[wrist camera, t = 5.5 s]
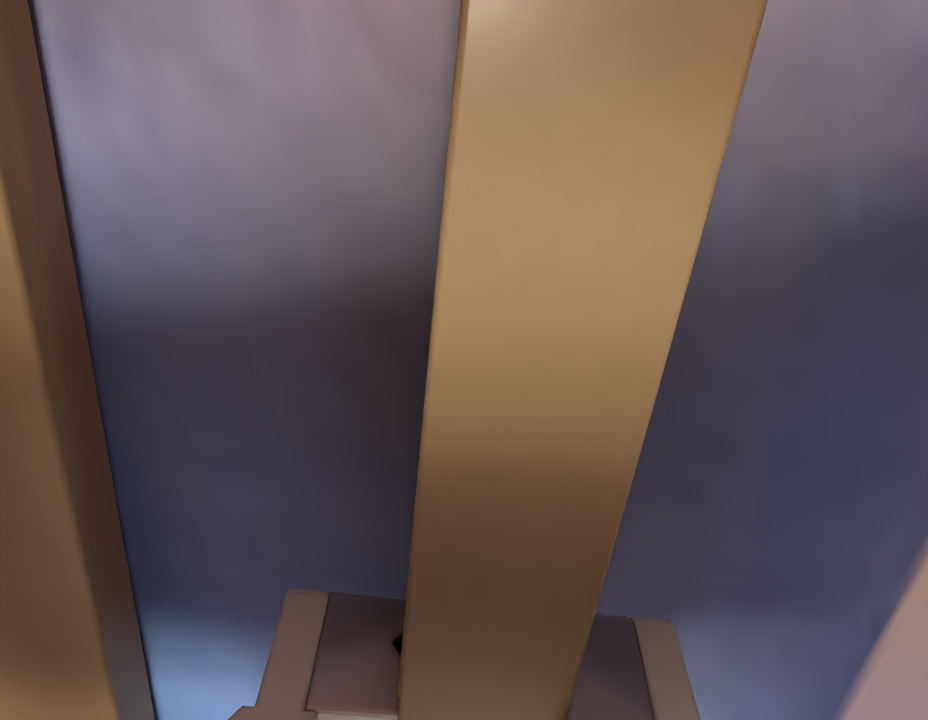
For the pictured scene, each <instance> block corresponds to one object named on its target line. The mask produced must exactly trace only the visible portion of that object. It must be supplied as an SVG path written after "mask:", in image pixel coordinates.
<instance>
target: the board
mask: <svg viewBox="0 0 928 720" xmlns="http://www.w3.org/2000/svg"><path fill="white" fill-rule="evenodd" d="M0 720H155V717H154V711H153V705H152V700H151V694H150V688H149V683H148V677H147V672H146V666H145V660H144V655H143V649H142V643H141V638H140V632H139V626H138V621H137V615H136V609H135V604H134V598H133V593H132V587H131V581H130V576H129V570H128V564H127V559H126V553H125V547H124V542H123V536H122V530H121V525H120V519H119V514H118V508H117V502H116V497H115V491H114V485H113V480H112V474H111V468H110V463H109V457H108V451H107V446H106V440H105V435H104V429H103V423H102V418H101V412H100V406H99V401H98V395H97V389H96V384H95V378H94V372H93V367H92V361H91V356H90V350H89V344H88V339H87V333H86V327H85V322H84V316H83V310H82V305H81V299H80V293H79V288H78V282H77V277H76V271H75V265H74V260H73V254H72V248H71V243H70V237H69V231H68V226H67V220H66V214H65V209H64V203H63V198H62V192H61V186H60V181H59V175H58V169H57V164H56V158H55V152H54V147H53V141H52V135H51V130H50V124H49V119H48V113H47V107H46V102H45V96H44V90H43V85H42V79H41V73H40V68H39V62H38V56H37V51H36V45H35V40H34V34H33V28H32V23H31V17H30V11H29V6H28V0H0Z"/></svg>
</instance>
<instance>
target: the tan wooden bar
mask: <svg viewBox="0 0 928 720" xmlns="http://www.w3.org/2000/svg"><path fill="white" fill-rule="evenodd" d="M767 2H768V0H461V7H460V18H459V29H458V40H457V51H456V62H455V73H454V84H453V95H452V106H451V116H450V127H449V138H448V149H447V160H446V171H445V182H444V193H443V204H442V215H441V225H440V236H439V247H438V258H437V269H436V280H435V291H434V302H433V313H432V324H431V335H430V345H429V356H428V367H427V378H426V389H425V400H424V411H423V422H422V433H421V444H420V454H419V465H418V476H417V487H416V498H415V509H414V520H413V531H412V542H411V553H410V564H409V574H408V585H407V596H406V607H405V618H404V629H403V640H402V651H401V662H400V673H399V683H398V694H397V695H398V697H399V698H400V701H399V714H398V720H563V719H564V715H565V712H566V711H568V708H569V705H570V701H571V698H572V694H573V691H574V687H575V683H576V680H577V676H578V673H579V669H580V666H581V662H582V659H583V655H584V651H585V648H586V644H587V641H588V637H589V634H590V630H591V627H592V623H593V620H594V616H595V612H596V609H597V605H598V602H599V598H600V595H601V591H602V588H603V584H604V580H605V577H606V573H607V570H608V566H609V563H610V559H611V556H612V552H613V549H614V545H615V541H616V538H617V534H618V531H619V527H620V524H621V520H622V517H623V513H624V509H625V506H626V502H627V499H628V495H629V492H630V488H631V485H632V481H633V477H634V474H635V470H636V467H637V463H638V460H639V456H640V453H641V449H642V446H643V442H644V438H645V435H646V431H647V428H648V424H649V421H650V417H651V414H652V410H653V406H654V403H655V399H656V396H657V392H658V389H659V385H660V382H661V378H662V374H663V371H664V367H665V364H666V360H667V357H668V353H669V350H670V346H671V343H672V339H673V335H674V332H675V328H676V325H677V321H678V318H679V314H680V311H681V307H682V303H683V300H684V296H685V293H686V289H687V286H688V282H689V279H690V275H691V272H692V268H693V264H694V261H695V257H696V254H697V250H698V247H699V243H700V240H701V236H702V232H703V229H704V225H705V222H706V218H707V215H708V211H709V208H710V204H711V200H712V197H713V193H714V190H715V186H716V183H717V179H718V176H719V172H720V169H721V165H722V161H723V158H724V154H725V151H726V147H727V144H728V140H729V137H730V133H731V129H732V126H733V122H734V119H735V115H736V112H737V108H738V105H739V101H740V97H741V94H742V90H743V87H744V83H745V80H746V76H747V73H748V69H749V66H750V62H751V58H752V55H753V51H754V48H755V44H756V41H757V37H758V34H759V30H760V26H761V23H762V19H763V16H764V12H765V9H766V5H767Z"/></svg>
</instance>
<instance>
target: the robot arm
mask: <svg viewBox="0 0 928 720" xmlns="http://www.w3.org/2000/svg"><path fill="white" fill-rule="evenodd" d="M405 607H406V600H402V599H393V598H384V597H375V596H366V595H356V594H347V593H338V592H326V591H316V590H306V589H296V588H291V589H290V591H289V593H288V594H287V596H286V598H285V601H284V604H283V608H282V611H281V615H280V618H279V622H278V626H277V629H276V633H275V636H274V640H273V643H272V647H271V650H270V654H269V658H268V661H267V665H266V668H265V672H264V675H263V679H262V682H261V686H260V690H259V693H258V697H257V700H256V704H255V707H251V706H242V707H241V708H240V709H238V710H237V711H236V712H235V713H234V714H233V715H232V716H231V717H230V718H229V719H228V720H398V714H399V701H400V698H399V697H398V695H397V694H398V683H399V673H400V662H401V651H402V640H403V629H404V618H405ZM563 720H700V716H699V713H698V709H697V706H696V702H695V698H694V695H693V691H692V687H691V684H690V680H689V676H688V673H687V669H686V666H685V662H684V658H683V655H682V651H681V647H680V644H679V640H678V636H677V633H676V629H675V627H674V626H673V624H672V623H671V622H670V620H658V619H646V618H634V617H630V618H628V617H627V616H615V615H601V614H595V616H594V620H593V623H592V627H591V630H590V634H589V637H588V641H587V644H586V648H585V651H584V655H583V659H582V662H581V666H580V669H579V673H578V676H577V680H576V683H575V687H574V691H573V694H572V698H571V701H570V705H569V708H568V711H566V712H565V715H564V719H563Z"/></svg>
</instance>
